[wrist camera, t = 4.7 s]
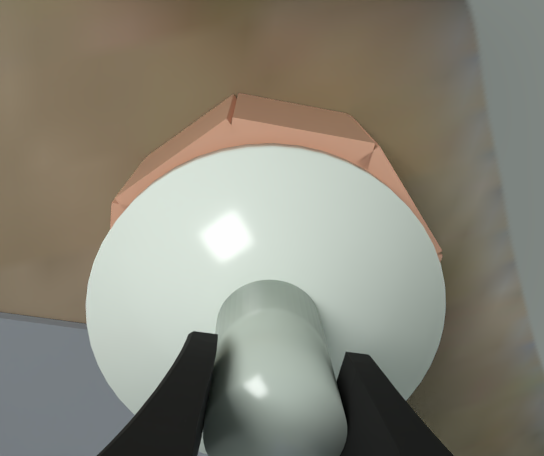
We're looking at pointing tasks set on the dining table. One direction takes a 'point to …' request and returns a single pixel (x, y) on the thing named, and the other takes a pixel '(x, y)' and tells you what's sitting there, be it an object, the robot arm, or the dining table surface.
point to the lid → (266, 292)
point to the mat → (54, 391)
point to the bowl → (267, 129)
